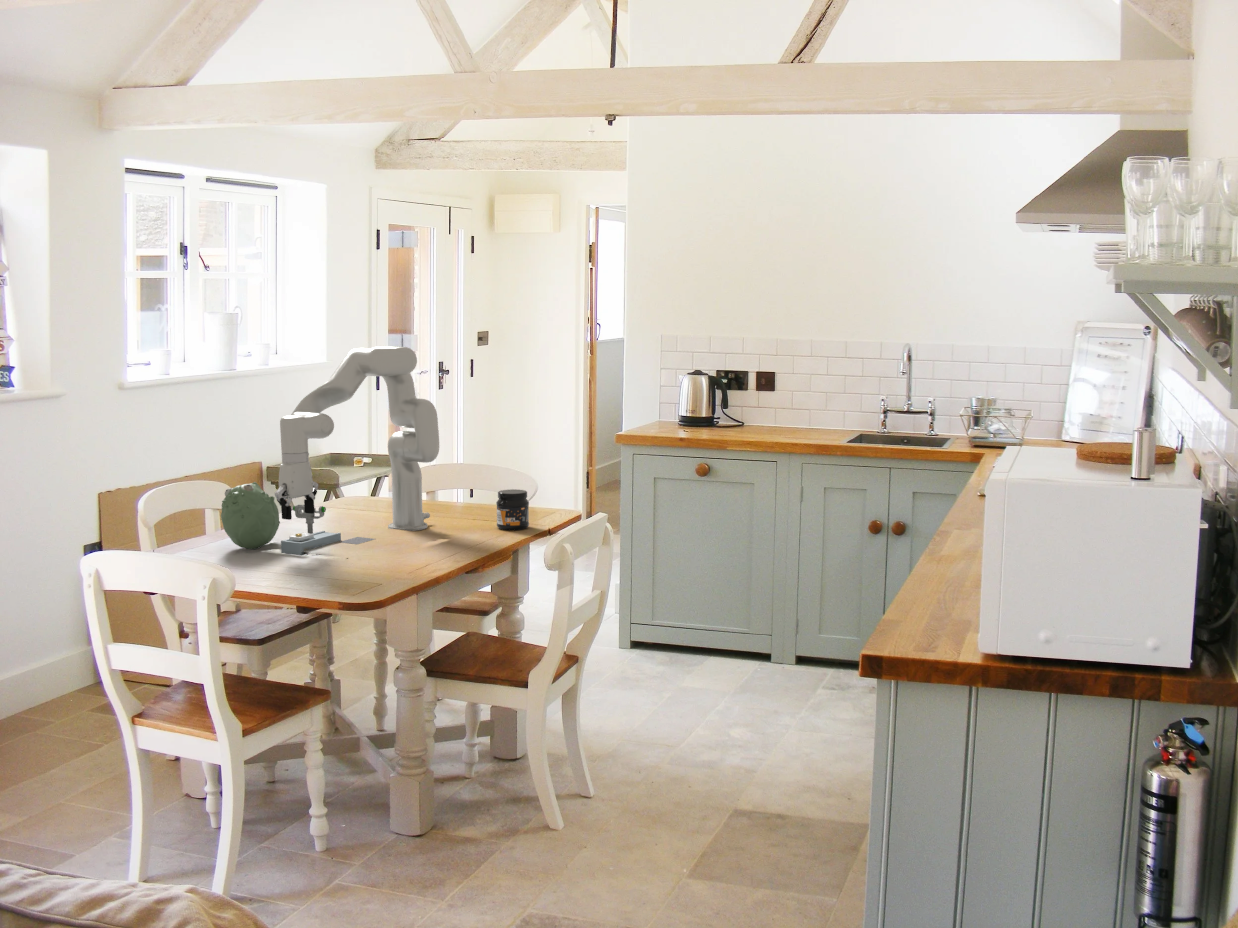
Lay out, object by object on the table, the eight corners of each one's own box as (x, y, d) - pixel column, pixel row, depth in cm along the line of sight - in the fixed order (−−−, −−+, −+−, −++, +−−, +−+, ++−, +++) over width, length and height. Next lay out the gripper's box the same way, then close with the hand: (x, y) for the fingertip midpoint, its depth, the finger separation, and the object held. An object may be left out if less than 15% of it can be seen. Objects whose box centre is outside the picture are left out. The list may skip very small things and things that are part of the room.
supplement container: (492, 530, 385) (491, 493, 383) (502, 524, 395) (502, 488, 393) (523, 531, 382) (522, 494, 381) (533, 525, 392) (533, 489, 391)
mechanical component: (323, 538, 370) (322, 507, 369) (292, 537, 372) (291, 505, 371) (327, 537, 373) (326, 505, 372) (297, 535, 375) (296, 504, 374)
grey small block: (303, 542, 355) (303, 530, 355) (314, 543, 353) (313, 532, 353) (289, 545, 350) (289, 534, 349) (300, 547, 348) (299, 535, 348)
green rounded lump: (291, 543, 363) (289, 478, 360) (259, 556, 345) (256, 487, 342) (245, 541, 367) (242, 476, 364) (210, 553, 348) (207, 485, 346)
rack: (322, 541, 365) (322, 530, 365) (342, 544, 362) (341, 532, 362) (281, 552, 350) (280, 540, 349) (301, 555, 346) (301, 543, 346)
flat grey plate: (357, 540, 368) (357, 536, 367) (375, 542, 364) (375, 538, 364) (338, 545, 360) (338, 542, 359) (357, 548, 356) (356, 544, 356)
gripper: (305, 453, 356) (308, 509, 359) (264, 461, 341) (267, 520, 343) (325, 454, 353) (328, 511, 355) (284, 463, 337) (287, 522, 340)
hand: (298, 516), depth 349 cm, fingers open, 9 cm apart
